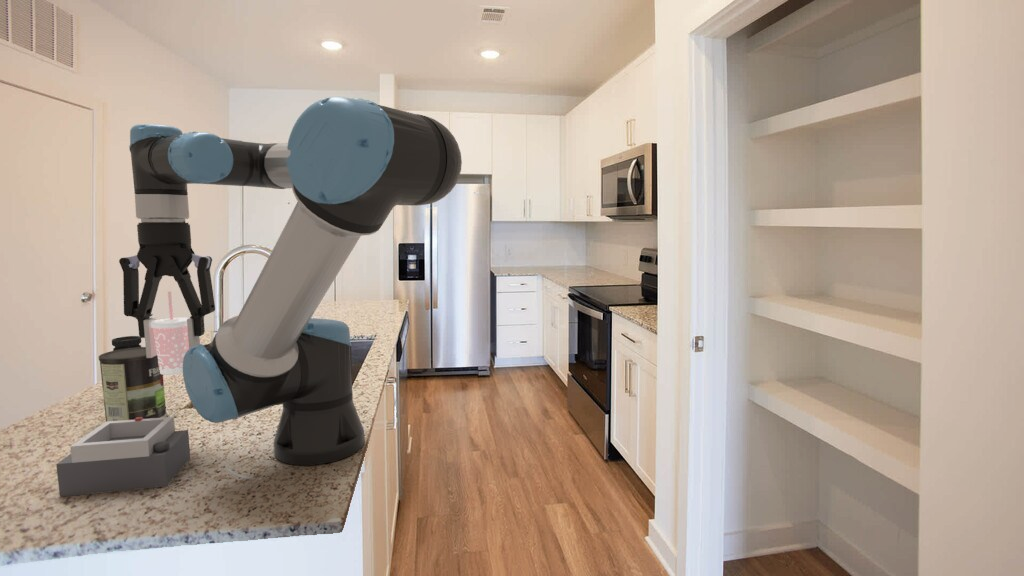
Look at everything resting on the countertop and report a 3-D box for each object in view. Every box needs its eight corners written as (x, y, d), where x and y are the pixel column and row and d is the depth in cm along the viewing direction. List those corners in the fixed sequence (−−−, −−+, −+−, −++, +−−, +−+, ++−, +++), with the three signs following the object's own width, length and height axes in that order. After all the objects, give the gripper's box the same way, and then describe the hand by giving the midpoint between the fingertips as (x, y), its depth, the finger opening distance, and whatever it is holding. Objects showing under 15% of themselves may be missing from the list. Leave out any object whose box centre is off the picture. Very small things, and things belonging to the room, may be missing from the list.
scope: (109, 345, 114) (99, 338, 121) (115, 408, 116) (105, 398, 122) (154, 339, 120) (142, 333, 127) (159, 399, 121) (147, 390, 128)
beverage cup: (151, 370, 94) (144, 291, 92) (191, 364, 98) (185, 288, 96) (158, 378, 90) (151, 295, 88) (200, 371, 94) (194, 291, 92)
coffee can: (173, 409, 115) (168, 344, 114) (158, 426, 106) (152, 356, 104) (117, 414, 112) (110, 348, 111) (95, 432, 103) (88, 360, 101)
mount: (190, 458, 91) (186, 413, 90) (166, 486, 82) (162, 436, 81) (96, 466, 88) (91, 420, 87) (59, 496, 79) (54, 445, 78)
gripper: (231, 221, 96) (239, 348, 99) (113, 220, 93) (125, 352, 95) (216, 221, 88) (225, 358, 91) (87, 220, 85) (100, 363, 88)
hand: (174, 354), depth 93 cm, fingers closed on beverage cup, 6 cm apart
